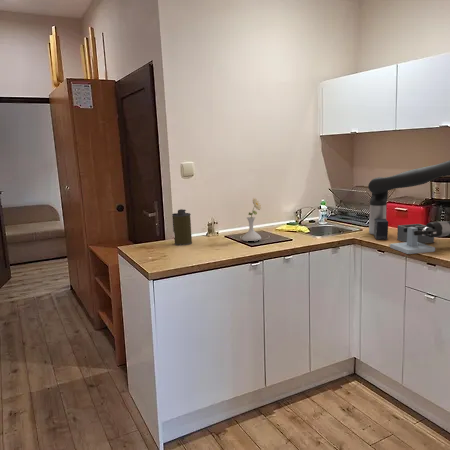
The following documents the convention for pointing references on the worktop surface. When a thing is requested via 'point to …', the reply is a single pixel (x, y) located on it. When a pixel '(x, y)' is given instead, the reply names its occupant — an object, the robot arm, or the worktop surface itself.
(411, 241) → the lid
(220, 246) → the worktop surface
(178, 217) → the canister
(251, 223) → the flower in vase
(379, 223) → the small box
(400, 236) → the crate
